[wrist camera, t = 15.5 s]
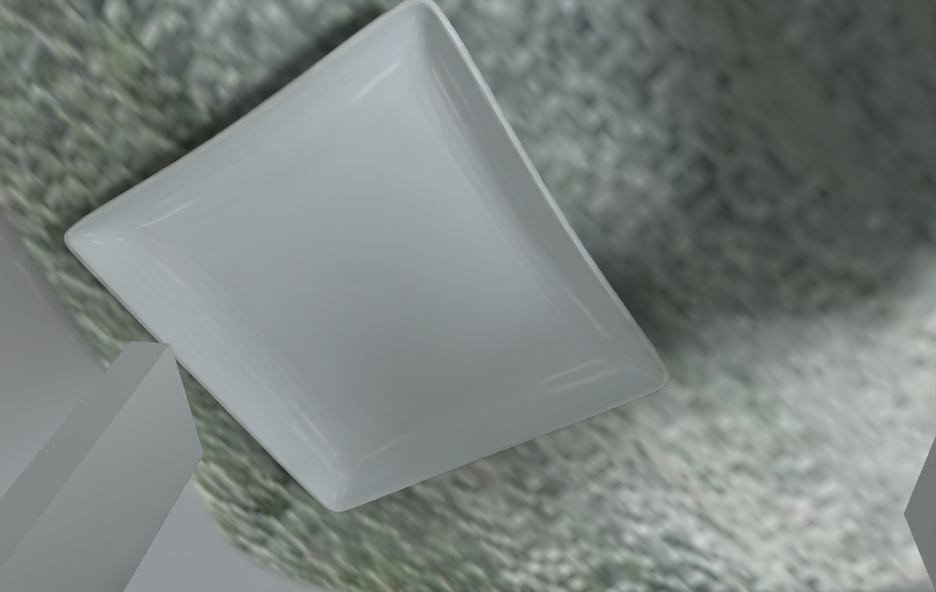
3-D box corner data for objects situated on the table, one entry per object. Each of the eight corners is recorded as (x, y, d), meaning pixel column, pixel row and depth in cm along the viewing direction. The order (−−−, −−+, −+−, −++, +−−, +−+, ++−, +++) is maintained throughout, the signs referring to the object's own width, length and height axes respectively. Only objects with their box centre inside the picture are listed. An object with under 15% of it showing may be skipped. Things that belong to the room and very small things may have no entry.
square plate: (84, 211, 50) (49, 241, 46) (437, -30, 39) (425, -14, 36) (342, 485, 61) (328, 525, 57) (671, 352, 50) (678, 391, 47)
